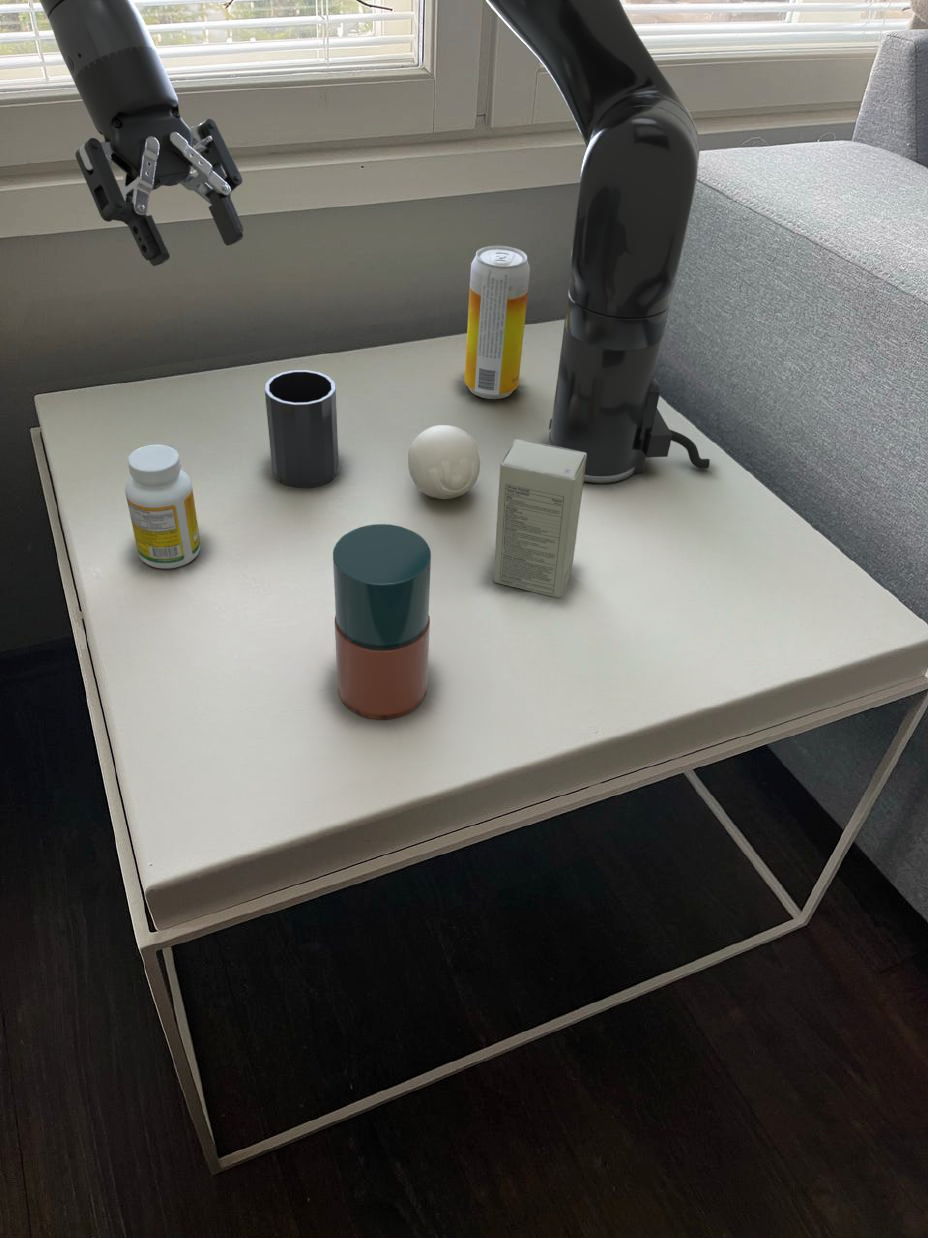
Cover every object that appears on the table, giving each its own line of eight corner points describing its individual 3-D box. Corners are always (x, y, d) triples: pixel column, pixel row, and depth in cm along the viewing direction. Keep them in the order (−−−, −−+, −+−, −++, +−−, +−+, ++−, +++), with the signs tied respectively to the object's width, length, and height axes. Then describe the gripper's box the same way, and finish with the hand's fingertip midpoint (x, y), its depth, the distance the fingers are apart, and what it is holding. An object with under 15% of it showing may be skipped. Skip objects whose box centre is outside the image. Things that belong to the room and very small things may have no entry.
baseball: (421, 520, 90) (423, 459, 86) (399, 477, 95) (400, 417, 91) (489, 509, 92) (494, 449, 87) (464, 467, 97) (468, 408, 92)
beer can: (519, 377, 111) (532, 246, 101) (516, 403, 107) (529, 270, 97) (466, 372, 112) (474, 241, 101) (461, 398, 107) (469, 264, 97)
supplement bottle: (164, 578, 82) (145, 484, 76) (125, 551, 84) (104, 457, 78) (214, 550, 85) (200, 457, 79) (176, 524, 88) (159, 432, 81)
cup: (336, 450, 98) (333, 369, 92) (340, 486, 93) (337, 403, 87) (272, 452, 97) (265, 370, 91) (272, 489, 92) (264, 405, 86)
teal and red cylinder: (421, 652, 77) (426, 520, 68) (432, 716, 72) (438, 582, 63) (335, 658, 76) (329, 524, 67) (340, 723, 71) (333, 588, 62)
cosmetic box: (572, 570, 86) (592, 452, 78) (560, 600, 83) (579, 480, 74) (503, 552, 87) (515, 434, 79) (488, 581, 84) (499, 462, 76)
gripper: (60, 49, 76) (157, 255, 80) (201, 35, 85) (280, 221, 90) (22, 92, 81) (115, 283, 86) (159, 75, 90) (236, 248, 95)
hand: (199, 251), depth 88 cm, fingers open, 8 cm apart
